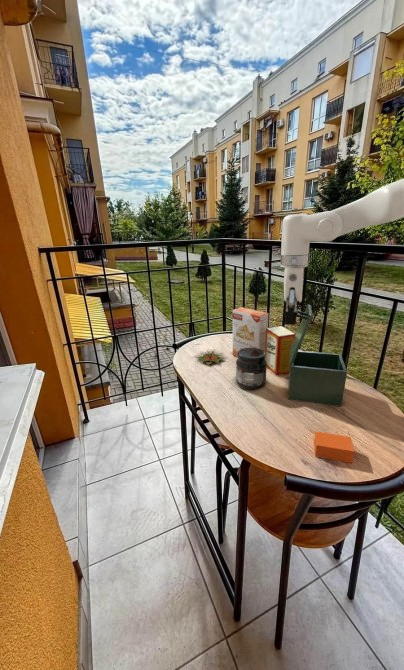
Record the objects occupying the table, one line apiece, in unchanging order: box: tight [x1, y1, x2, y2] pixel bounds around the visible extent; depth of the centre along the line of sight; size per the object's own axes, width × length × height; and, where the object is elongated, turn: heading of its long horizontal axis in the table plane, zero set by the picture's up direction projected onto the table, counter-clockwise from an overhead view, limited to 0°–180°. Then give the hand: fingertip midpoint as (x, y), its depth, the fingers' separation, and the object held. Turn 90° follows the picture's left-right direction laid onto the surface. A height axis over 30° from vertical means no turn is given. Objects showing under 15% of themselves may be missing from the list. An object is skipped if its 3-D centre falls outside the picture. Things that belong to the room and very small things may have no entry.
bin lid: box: [289, 304, 314, 365], centre depth 88 cm, size 16×13×5 cm
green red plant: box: [196, 349, 225, 366], centre depth 118 cm, size 12×12×5 cm
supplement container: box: [235, 348, 267, 391], centre depth 97 cm, size 10×10×12 cm
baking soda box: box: [265, 325, 296, 377], centre depth 106 cm, size 10×6×16 cm
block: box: [313, 431, 355, 464], centre depth 67 cm, size 8×5×3 cm, turn 73°
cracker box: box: [232, 306, 269, 357], centre depth 115 cm, size 14×6×21 cm, turn 42°
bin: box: [287, 350, 348, 407], centre depth 90 cm, size 16×13×12 cm
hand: (290, 320), depth 87 cm, fingers closed on bin lid, 5 cm apart
